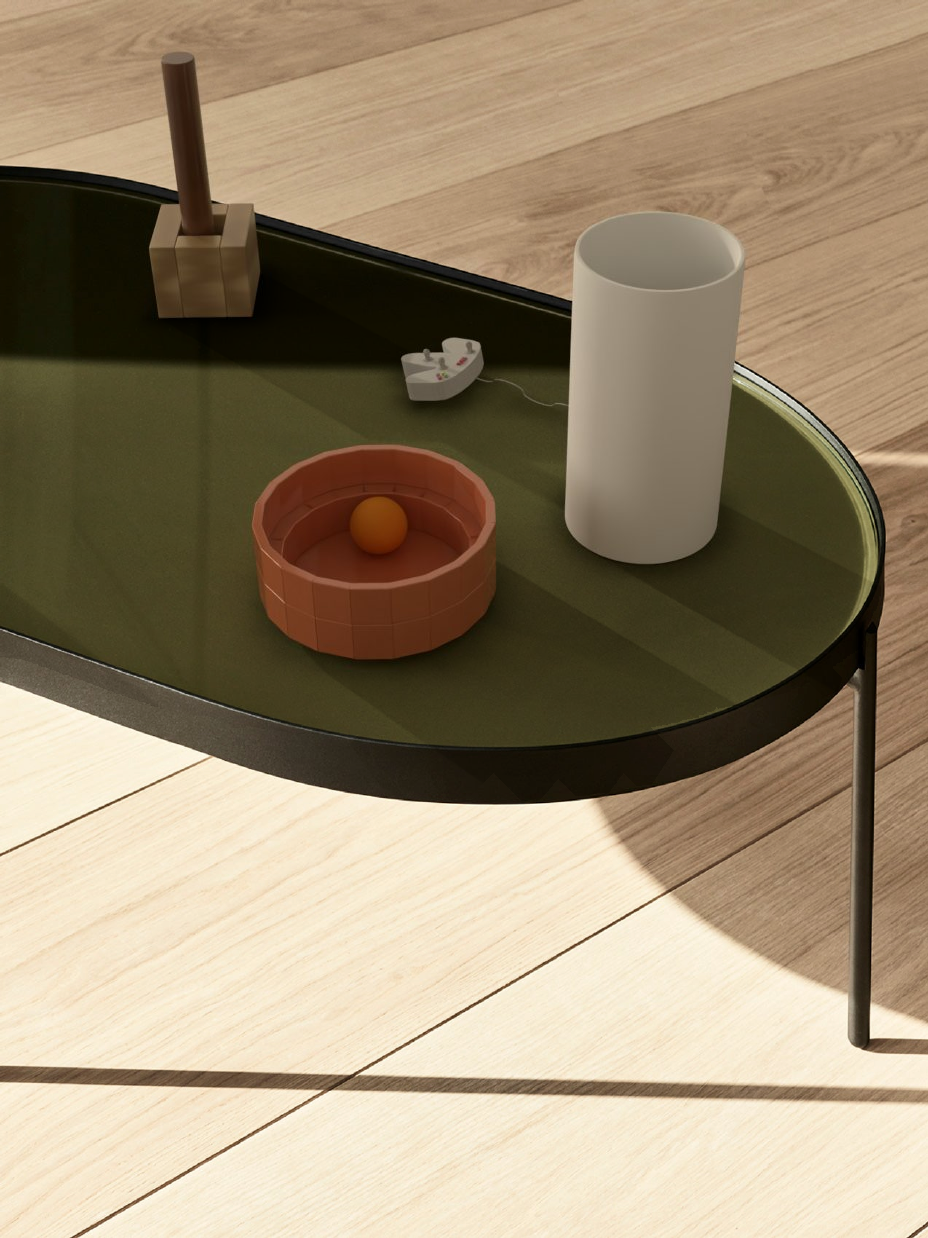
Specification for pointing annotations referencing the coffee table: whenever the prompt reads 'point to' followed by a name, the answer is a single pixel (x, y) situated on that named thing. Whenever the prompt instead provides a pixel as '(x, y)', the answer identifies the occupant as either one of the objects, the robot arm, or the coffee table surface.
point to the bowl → (375, 583)
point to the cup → (650, 383)
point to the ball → (378, 525)
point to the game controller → (445, 370)
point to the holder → (206, 264)
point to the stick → (188, 143)
